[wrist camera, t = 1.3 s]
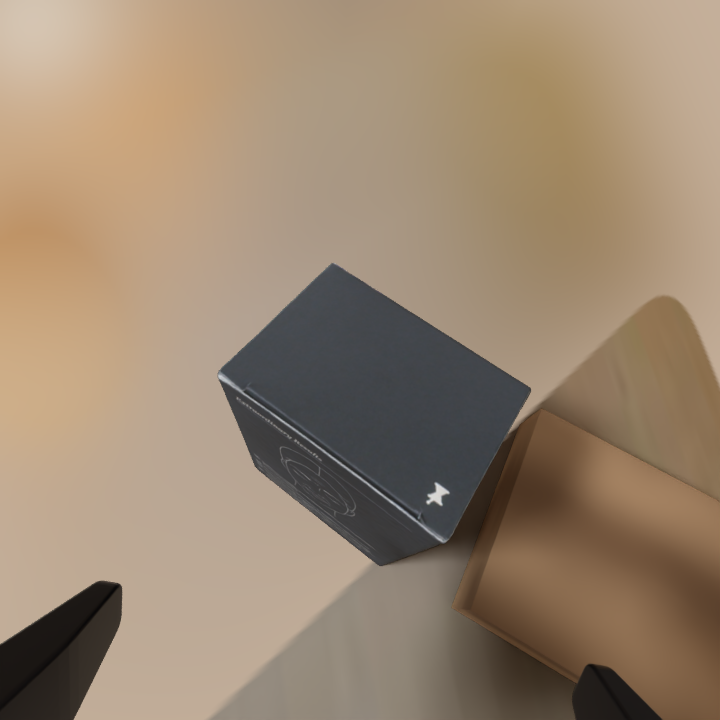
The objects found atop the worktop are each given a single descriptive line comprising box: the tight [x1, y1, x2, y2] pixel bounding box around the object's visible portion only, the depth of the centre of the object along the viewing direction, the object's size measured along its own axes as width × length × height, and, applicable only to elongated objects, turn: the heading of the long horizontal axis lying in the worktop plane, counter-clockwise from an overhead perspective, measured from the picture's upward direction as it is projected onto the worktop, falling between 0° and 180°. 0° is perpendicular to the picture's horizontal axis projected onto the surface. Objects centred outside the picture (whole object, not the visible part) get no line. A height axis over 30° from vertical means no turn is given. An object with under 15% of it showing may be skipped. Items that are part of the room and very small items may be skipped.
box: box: [218, 263, 531, 566], centre depth 17 cm, size 8×6×11 cm
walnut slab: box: [451, 408, 720, 720], centre depth 20 cm, size 10×10×2 cm
